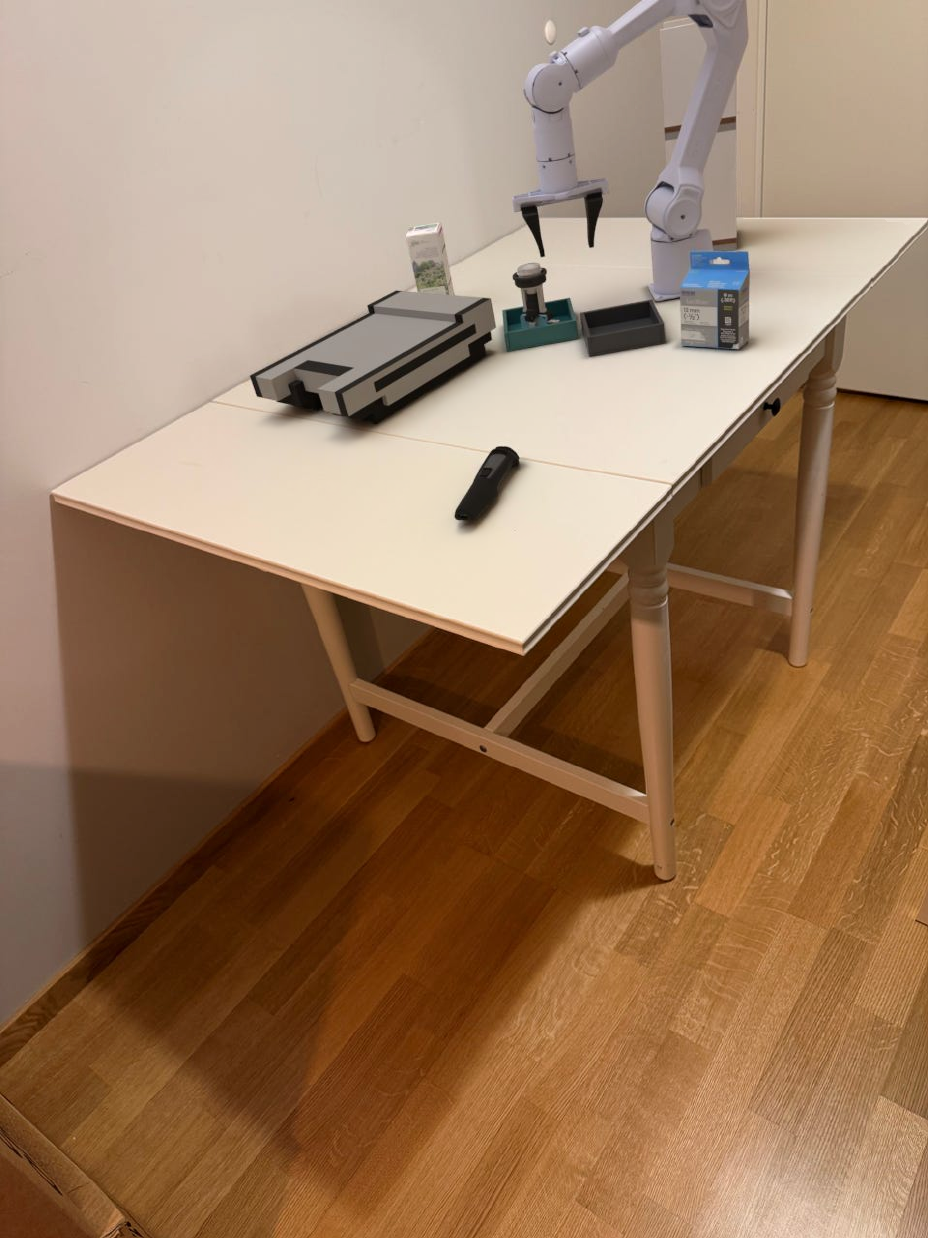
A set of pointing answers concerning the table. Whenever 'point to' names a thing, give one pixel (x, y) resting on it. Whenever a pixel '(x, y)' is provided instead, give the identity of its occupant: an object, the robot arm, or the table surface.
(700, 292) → the label tape box
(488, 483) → the electric trimmer
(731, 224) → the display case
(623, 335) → the right tote
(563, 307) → the box
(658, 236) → the robot arm
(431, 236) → the syrup box
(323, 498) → the table surface
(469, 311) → the game console
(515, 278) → the push button
